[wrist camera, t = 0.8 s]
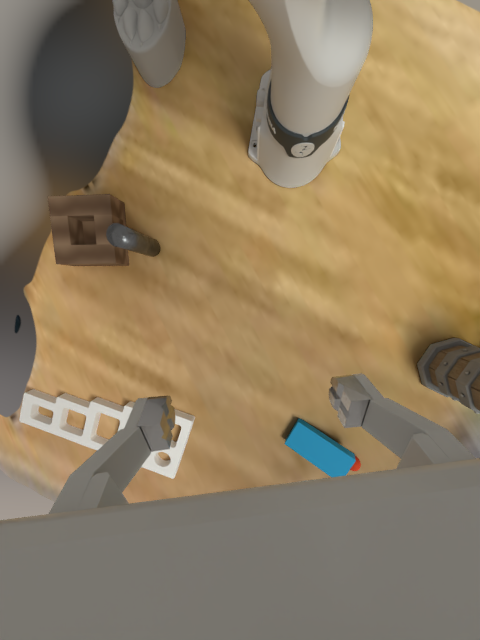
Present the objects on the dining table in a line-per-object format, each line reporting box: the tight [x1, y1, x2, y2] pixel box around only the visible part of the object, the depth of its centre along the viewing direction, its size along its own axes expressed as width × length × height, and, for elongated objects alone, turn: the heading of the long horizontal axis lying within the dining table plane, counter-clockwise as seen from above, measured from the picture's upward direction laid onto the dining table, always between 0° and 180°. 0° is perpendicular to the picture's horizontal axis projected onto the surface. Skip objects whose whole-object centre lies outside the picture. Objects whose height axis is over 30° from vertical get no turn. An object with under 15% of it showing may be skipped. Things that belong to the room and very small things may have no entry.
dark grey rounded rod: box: [106, 223, 160, 257], centre depth 45 cm, size 4×4×13 cm
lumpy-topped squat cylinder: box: [112, 0, 186, 88], centre depth 41 cm, size 10×13×9 cm
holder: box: [20, 389, 195, 479], centre depth 58 cm, size 45×18×3 cm, turn 71°
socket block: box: [48, 194, 129, 266], centre depth 49 cm, size 14×14×5 cm
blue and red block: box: [285, 418, 361, 477], centre depth 54 cm, size 7×7×18 cm
